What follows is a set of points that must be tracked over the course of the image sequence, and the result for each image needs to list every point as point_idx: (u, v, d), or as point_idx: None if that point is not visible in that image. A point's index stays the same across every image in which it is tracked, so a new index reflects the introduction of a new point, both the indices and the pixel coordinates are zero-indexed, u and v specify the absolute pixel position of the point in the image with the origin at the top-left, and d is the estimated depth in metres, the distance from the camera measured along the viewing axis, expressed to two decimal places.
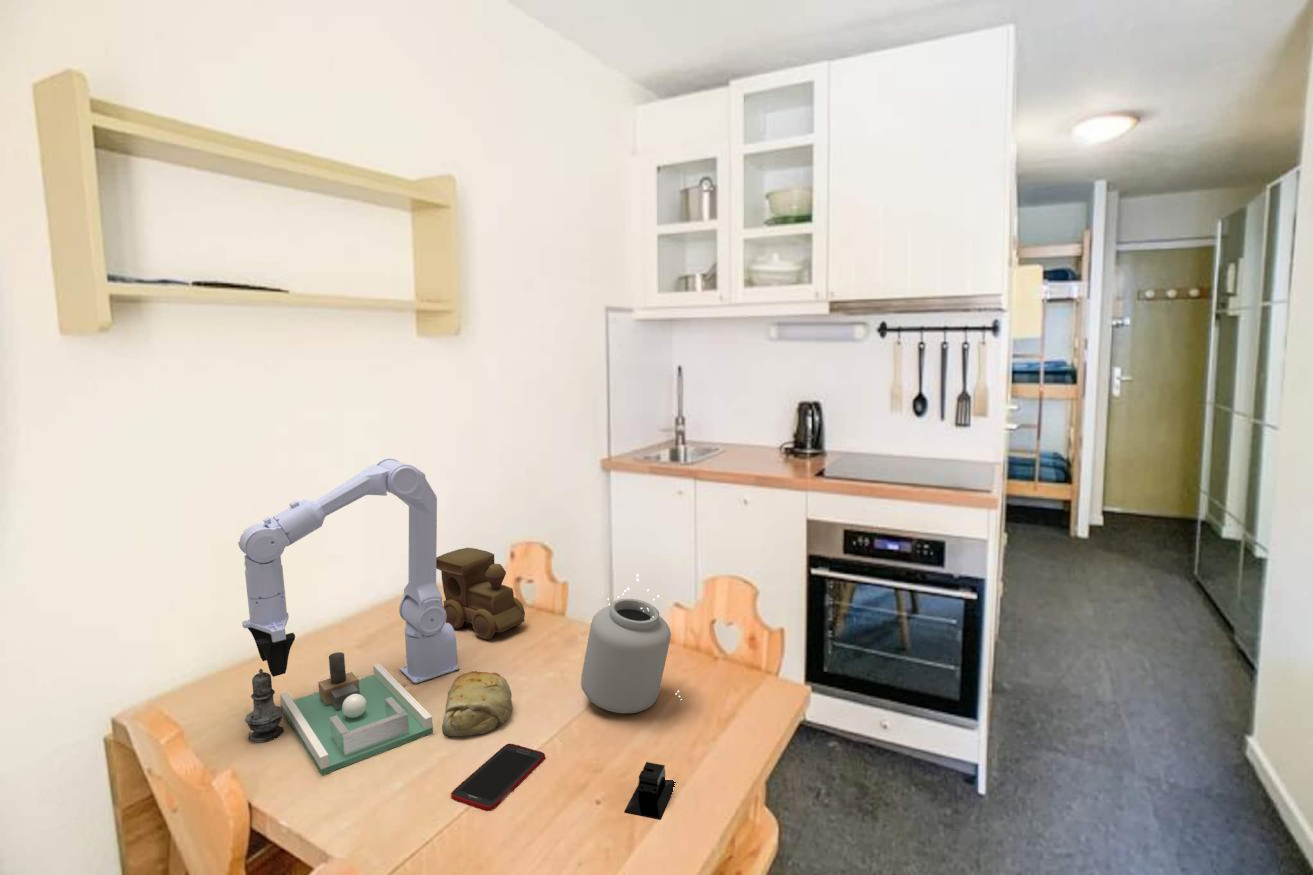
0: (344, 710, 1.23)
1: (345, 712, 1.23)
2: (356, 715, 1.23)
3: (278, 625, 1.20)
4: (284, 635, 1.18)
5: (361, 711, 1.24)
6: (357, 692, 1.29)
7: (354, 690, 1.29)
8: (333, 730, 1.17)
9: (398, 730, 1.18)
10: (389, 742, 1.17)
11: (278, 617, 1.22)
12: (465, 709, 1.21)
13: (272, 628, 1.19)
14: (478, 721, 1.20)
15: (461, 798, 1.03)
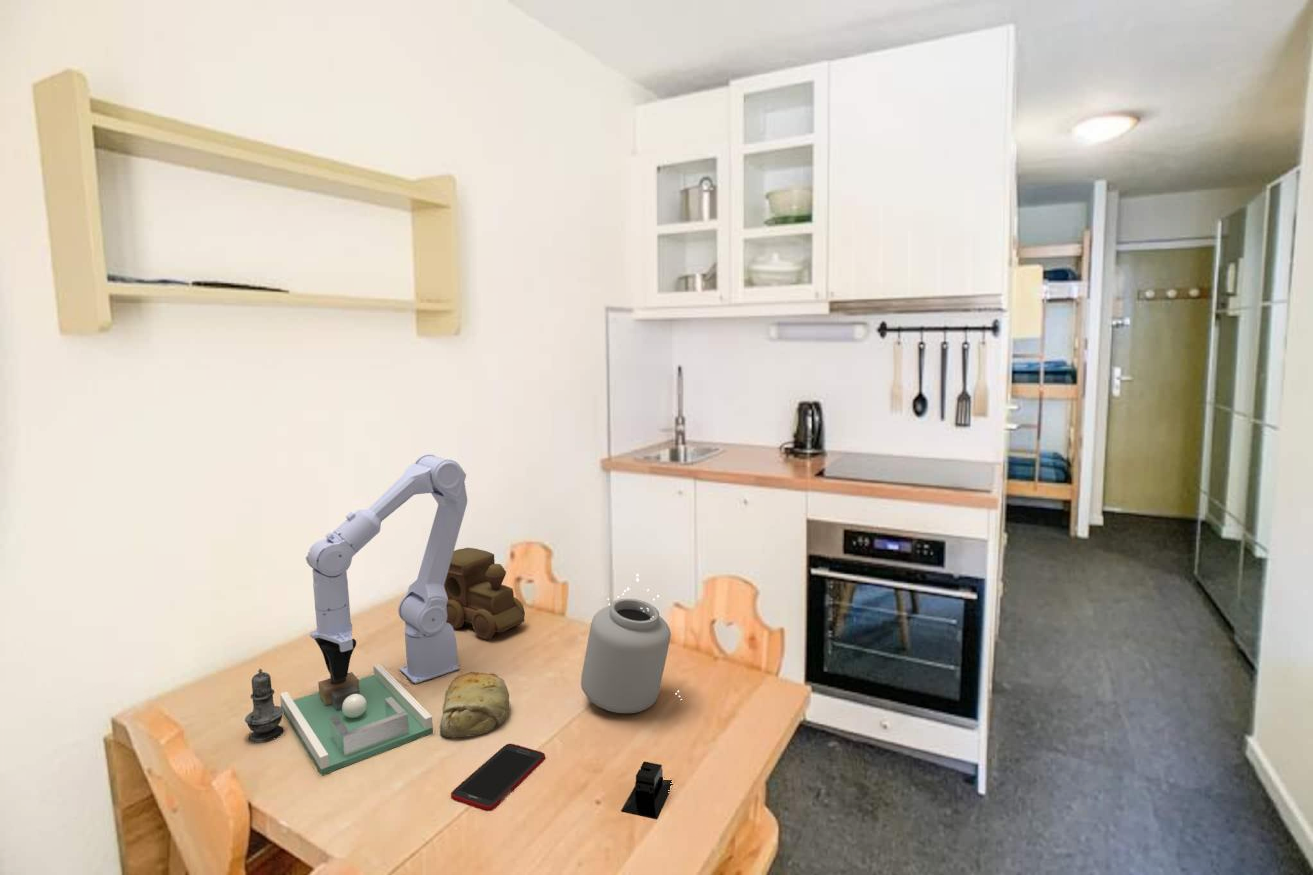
0: (344, 710, 1.23)
1: (345, 712, 1.23)
2: (356, 715, 1.23)
3: (345, 635, 1.26)
4: (351, 645, 1.25)
5: (361, 711, 1.24)
6: (357, 692, 1.29)
7: (354, 690, 1.29)
8: (333, 730, 1.17)
9: (398, 730, 1.18)
10: (389, 742, 1.17)
11: (344, 628, 1.28)
12: (463, 710, 1.20)
13: (339, 638, 1.26)
14: (475, 722, 1.20)
15: (461, 798, 1.03)
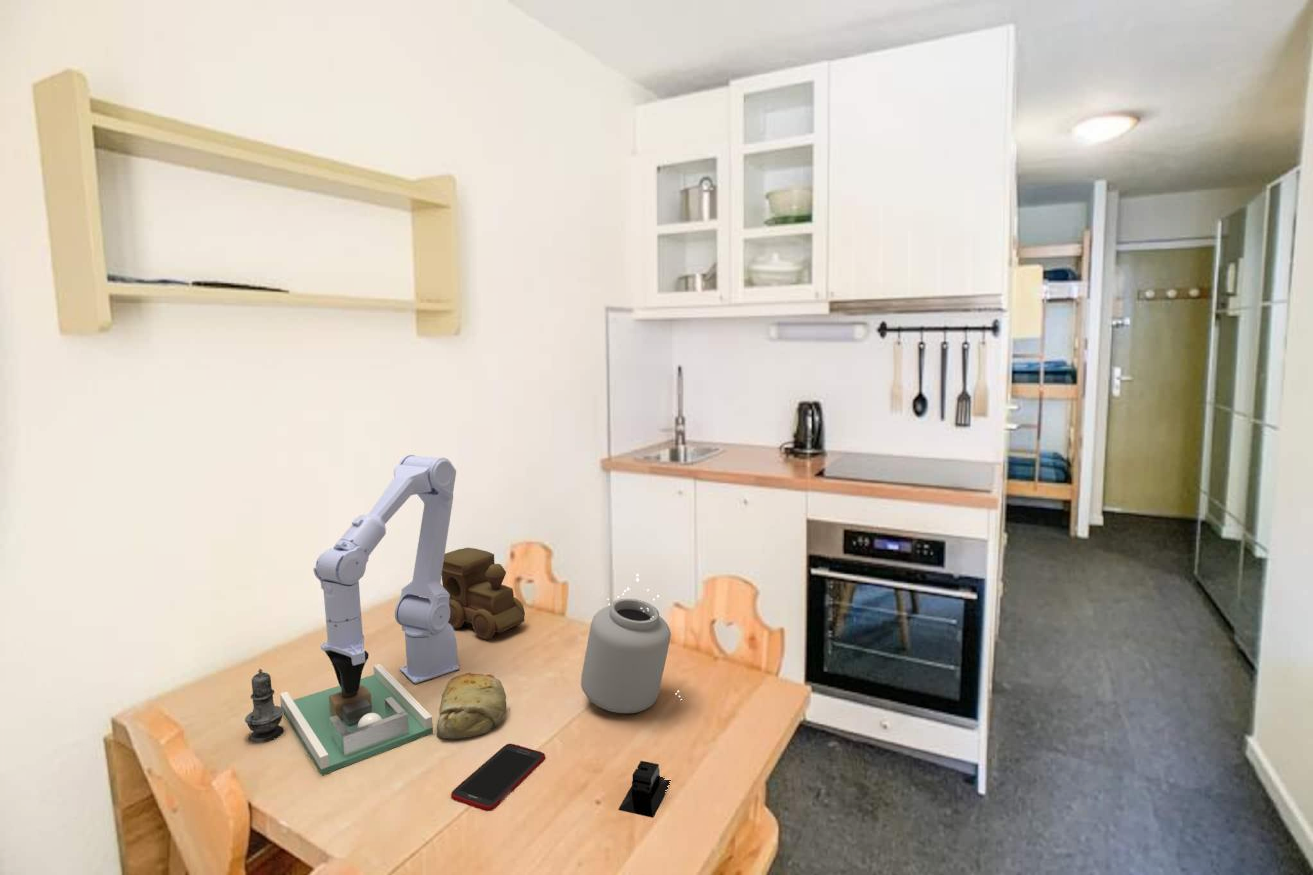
0: None
1: (358, 724, 1.17)
2: (368, 715, 1.18)
3: (357, 648, 1.21)
4: (363, 658, 1.20)
5: None
6: (369, 706, 1.24)
7: (366, 704, 1.24)
8: (333, 730, 1.17)
9: (398, 730, 1.18)
10: (389, 742, 1.17)
11: (356, 639, 1.23)
12: (460, 711, 1.20)
13: (351, 651, 1.21)
14: (472, 723, 1.19)
15: (461, 798, 1.03)
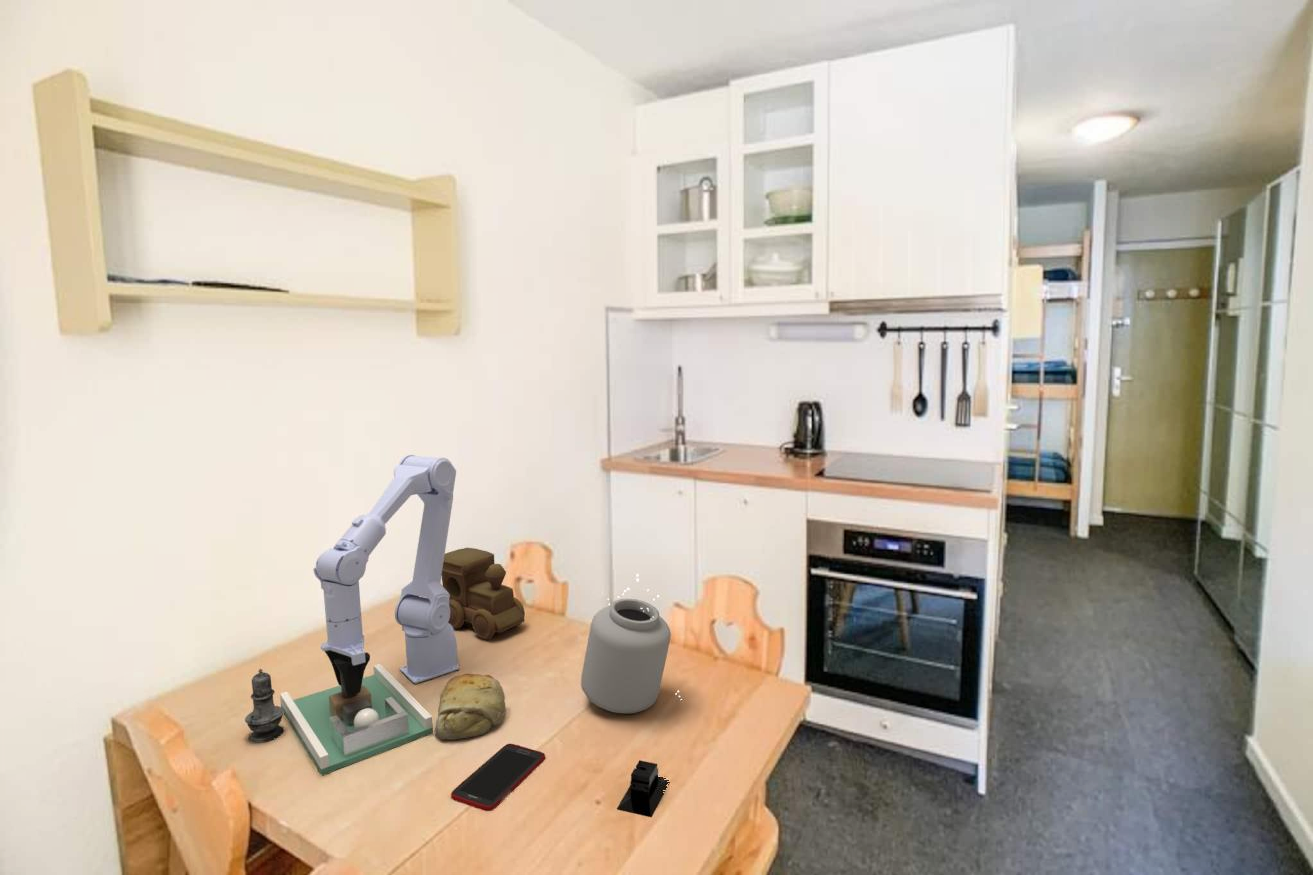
0: (354, 723, 1.19)
1: (354, 721, 1.19)
2: None
3: (357, 648, 1.21)
4: (363, 658, 1.20)
5: None
6: (369, 707, 1.24)
7: (366, 704, 1.24)
8: (333, 730, 1.17)
9: (398, 730, 1.18)
10: (389, 742, 1.17)
11: (356, 640, 1.23)
12: (458, 712, 1.20)
13: (351, 651, 1.21)
14: (471, 723, 1.19)
15: (461, 798, 1.03)
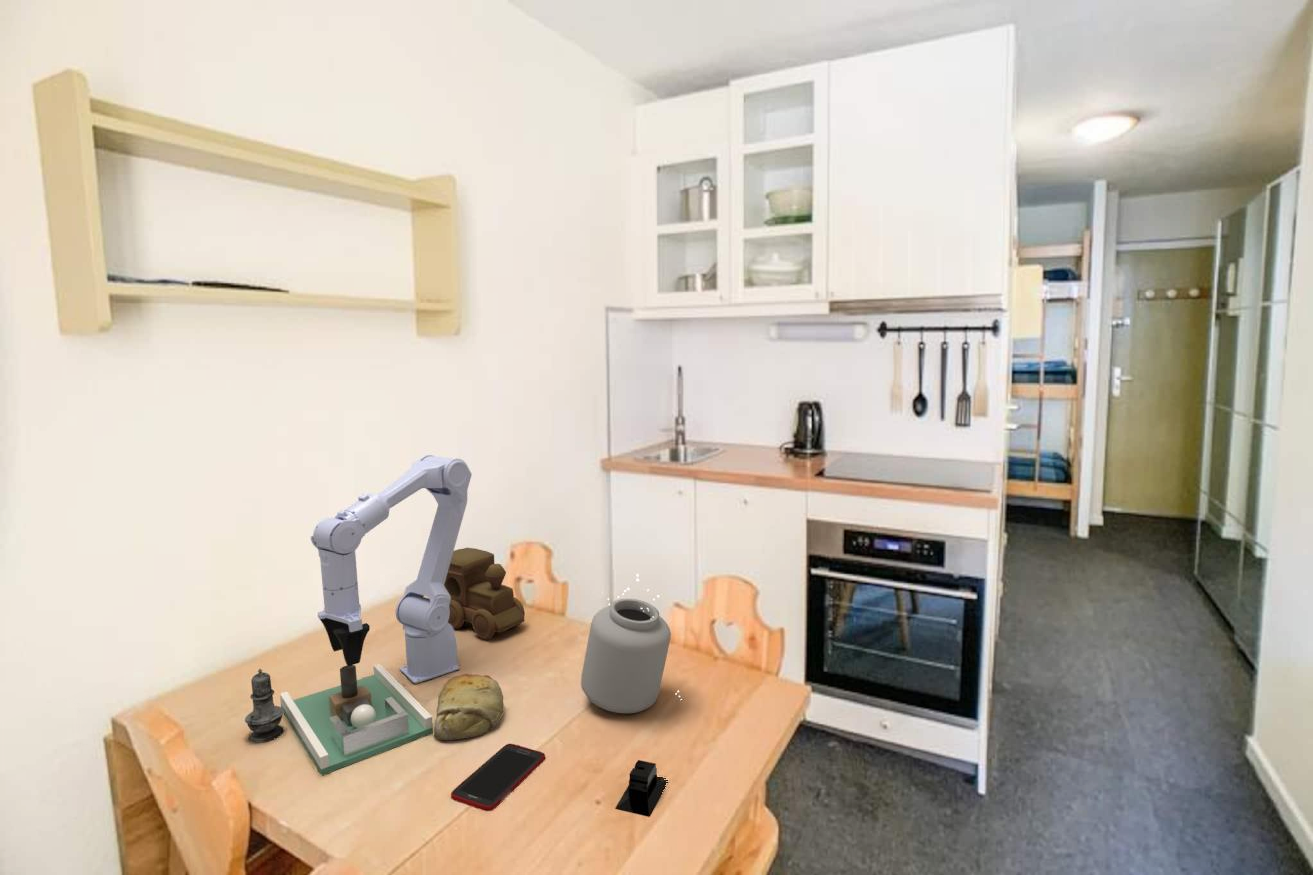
0: None
1: None
2: None
3: (354, 616, 1.23)
4: (360, 625, 1.21)
5: None
6: None
7: (366, 704, 1.24)
8: (333, 730, 1.17)
9: (398, 730, 1.18)
10: (389, 742, 1.17)
11: (352, 608, 1.25)
12: (457, 712, 1.20)
13: (348, 618, 1.22)
14: (470, 724, 1.19)
15: (461, 798, 1.03)
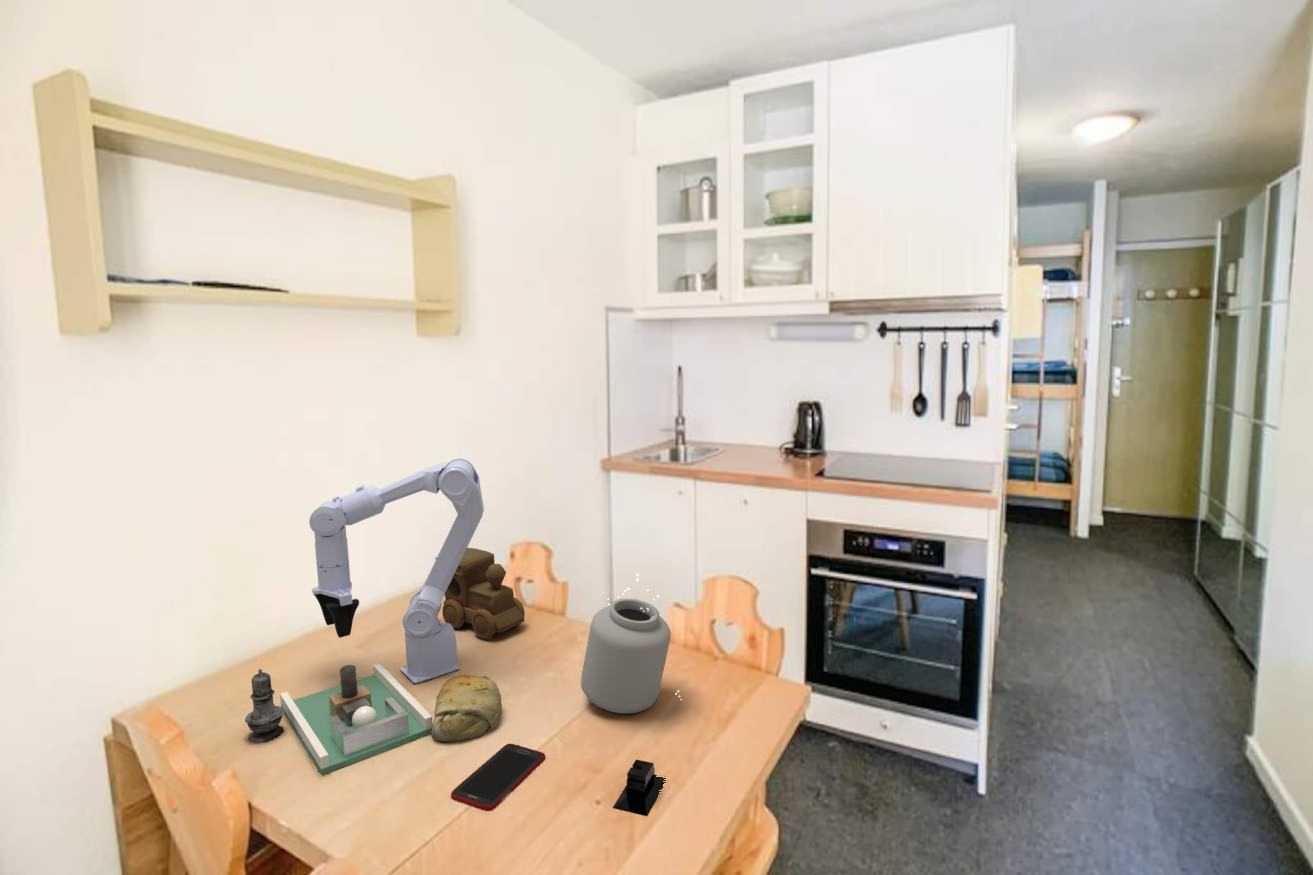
0: (352, 722, 1.20)
1: None
2: None
3: (345, 591, 1.34)
4: (350, 599, 1.33)
5: None
6: None
7: (366, 704, 1.24)
8: (333, 730, 1.17)
9: (398, 730, 1.18)
10: (389, 742, 1.17)
11: (344, 584, 1.36)
12: (455, 713, 1.19)
13: (340, 594, 1.34)
14: (468, 725, 1.19)
15: (461, 798, 1.03)
